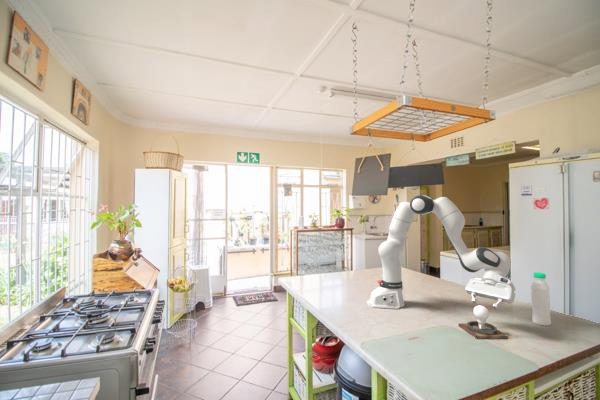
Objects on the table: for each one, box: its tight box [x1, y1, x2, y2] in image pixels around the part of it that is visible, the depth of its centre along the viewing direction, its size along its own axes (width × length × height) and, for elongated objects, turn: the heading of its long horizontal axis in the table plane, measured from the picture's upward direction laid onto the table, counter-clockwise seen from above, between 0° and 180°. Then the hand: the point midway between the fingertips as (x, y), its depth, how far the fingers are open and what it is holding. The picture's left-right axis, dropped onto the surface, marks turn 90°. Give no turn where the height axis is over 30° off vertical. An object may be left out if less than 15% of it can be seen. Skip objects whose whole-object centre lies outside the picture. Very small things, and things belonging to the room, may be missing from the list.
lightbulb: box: [472, 305, 490, 330], centre depth 131 cm, size 6×6×11 cm
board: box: [458, 322, 509, 340], centre depth 131 cm, size 14×14×1 cm
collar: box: [467, 320, 498, 335], centre depth 131 cm, size 12×12×2 cm
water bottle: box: [530, 271, 552, 327], centre depth 141 cm, size 7×7×25 cm
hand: (483, 304), depth 133 cm, fingers open, 8 cm apart
